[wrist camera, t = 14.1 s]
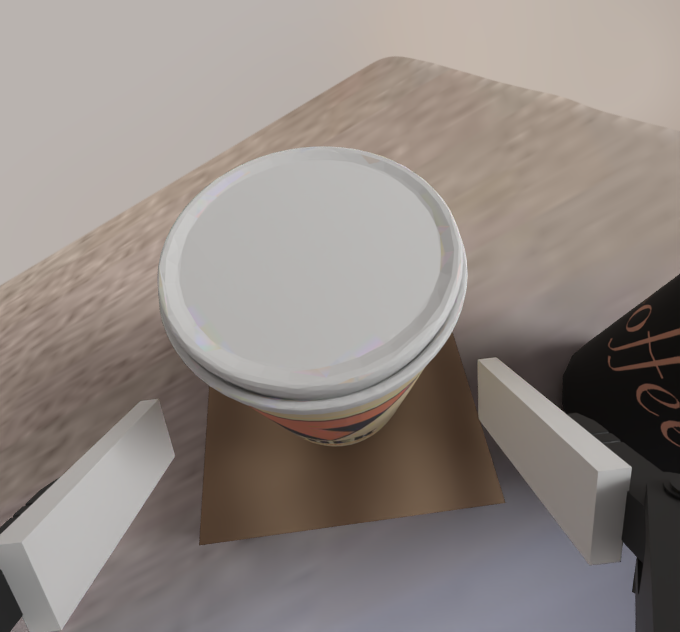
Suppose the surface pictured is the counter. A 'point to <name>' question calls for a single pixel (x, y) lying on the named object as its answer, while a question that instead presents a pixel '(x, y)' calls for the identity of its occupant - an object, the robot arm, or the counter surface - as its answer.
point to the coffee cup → (314, 288)
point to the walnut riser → (347, 464)
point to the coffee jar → (634, 379)
